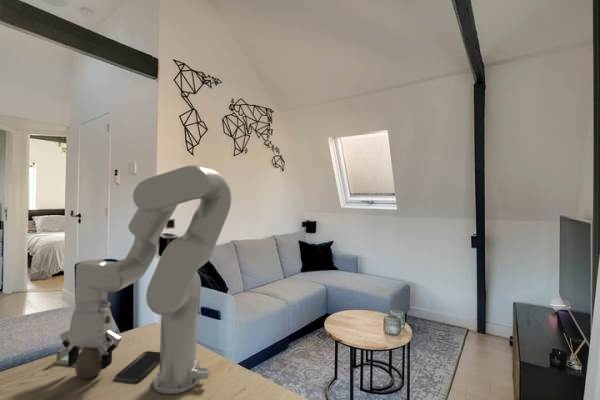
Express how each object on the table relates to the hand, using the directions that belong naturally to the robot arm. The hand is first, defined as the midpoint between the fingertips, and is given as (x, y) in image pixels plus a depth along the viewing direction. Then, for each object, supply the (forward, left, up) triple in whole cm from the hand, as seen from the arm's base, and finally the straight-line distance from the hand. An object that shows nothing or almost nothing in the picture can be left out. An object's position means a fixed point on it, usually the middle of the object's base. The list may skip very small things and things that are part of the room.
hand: (89, 365), depth 89 cm
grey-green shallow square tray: (+8, -10, -3) cm, 13 cm away
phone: (-12, -6, -4) cm, 14 cm away
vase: (0, 0, -3) cm, 3 cm away
